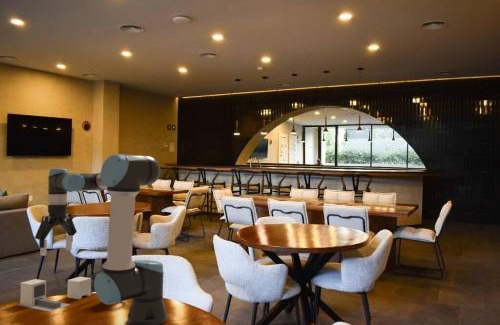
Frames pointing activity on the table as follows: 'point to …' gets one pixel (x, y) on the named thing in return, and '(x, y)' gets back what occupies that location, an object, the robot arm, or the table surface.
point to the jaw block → (79, 287)
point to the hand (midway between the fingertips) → (56, 252)
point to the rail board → (46, 305)
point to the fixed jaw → (32, 291)
